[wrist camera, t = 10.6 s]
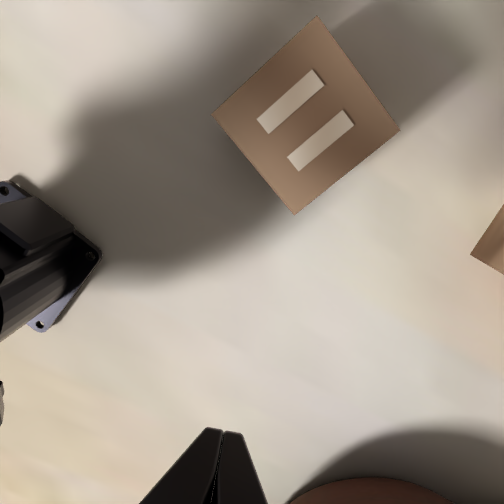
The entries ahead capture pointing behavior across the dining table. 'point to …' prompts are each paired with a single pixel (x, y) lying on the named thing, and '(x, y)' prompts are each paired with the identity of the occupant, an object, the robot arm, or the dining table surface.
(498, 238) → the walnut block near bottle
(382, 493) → the dish
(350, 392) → the dining table surface
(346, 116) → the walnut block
